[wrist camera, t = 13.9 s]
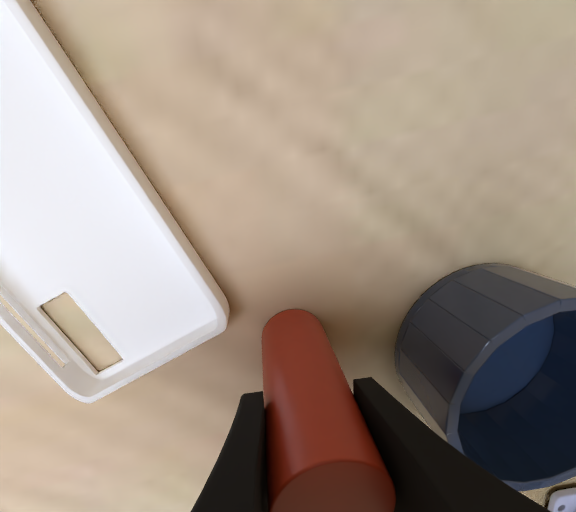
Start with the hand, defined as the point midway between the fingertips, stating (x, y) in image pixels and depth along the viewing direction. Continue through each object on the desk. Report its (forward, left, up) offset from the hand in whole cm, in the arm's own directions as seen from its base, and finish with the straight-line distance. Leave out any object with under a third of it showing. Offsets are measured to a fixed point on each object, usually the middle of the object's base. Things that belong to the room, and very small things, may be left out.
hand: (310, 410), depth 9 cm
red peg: (0, 0, -4) cm, 4 cm away
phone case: (+7, +9, -5) cm, 12 cm away
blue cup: (-2, -10, -4) cm, 11 cm away
